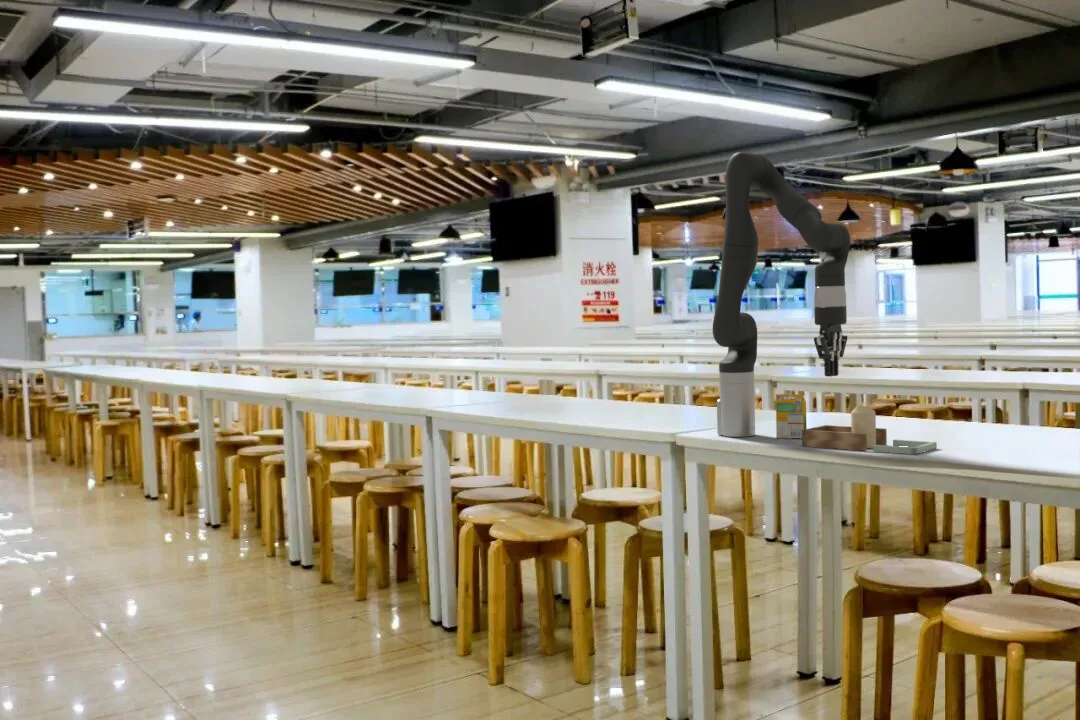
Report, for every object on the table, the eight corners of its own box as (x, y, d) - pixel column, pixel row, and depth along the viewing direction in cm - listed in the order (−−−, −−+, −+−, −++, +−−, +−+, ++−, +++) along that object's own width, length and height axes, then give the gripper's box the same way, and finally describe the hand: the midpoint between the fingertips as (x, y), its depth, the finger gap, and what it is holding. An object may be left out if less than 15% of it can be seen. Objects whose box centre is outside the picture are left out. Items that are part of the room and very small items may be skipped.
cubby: (802, 446, 236) (801, 430, 236) (825, 440, 245) (825, 425, 244) (864, 451, 225) (864, 434, 225) (886, 445, 234) (886, 428, 233)
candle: (880, 447, 230) (880, 406, 229) (861, 449, 228) (860, 407, 227) (866, 445, 235) (865, 404, 234) (847, 446, 233) (846, 405, 233)
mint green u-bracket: (873, 451, 224) (872, 445, 223) (894, 445, 232) (894, 439, 232) (915, 454, 217) (915, 448, 217) (936, 448, 225) (936, 442, 225)
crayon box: (807, 437, 252) (806, 393, 251) (804, 439, 249) (803, 394, 249) (779, 437, 255) (778, 393, 255) (776, 438, 253) (775, 394, 252)
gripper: (829, 305, 243) (830, 374, 244) (802, 306, 233) (803, 377, 234) (857, 304, 238) (858, 374, 238) (831, 305, 228) (832, 378, 229)
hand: (831, 375), depth 236 cm, fingers closed
